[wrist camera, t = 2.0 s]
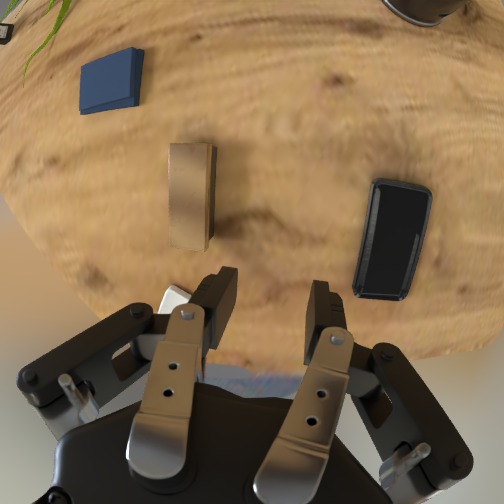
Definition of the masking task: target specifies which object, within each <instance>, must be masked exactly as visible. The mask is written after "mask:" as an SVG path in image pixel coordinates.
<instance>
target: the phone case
mask: <svg viewBox="0 0 504 504" xmlns="http://www.w3.org/2000/svg"><path fill="white" fill-rule="evenodd" d="M191 296H192V295H190V294H188V293H187V292H185V291H183V290H181V289H180V288H178V287H176V286H175V285H171V286H170V287H169V288H168V289H167V290H166V292H165V295H164V297H163V300H162V303H161V305H160V308H159V311H158V314H170V313H171V312H172V310H173V309H174V308H175V307H176V306H178V305H181V304H185V303H187V302H188V301H189V299H190V298H191Z"/></svg>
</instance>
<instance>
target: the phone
mask: <svg viewBox="0 0 504 504" xmlns="http://www.w3.org/2000/svg"><path fill="white" fill-rule="evenodd" d="M431 204H432V193H431V191H430V190H429V189H427V188H425V187H423V186H419V185H414V184H409V183H404V182H399V181H393V180H388V179H382V178H378V179H375V180H374V181H373V182H372V184H371V189H370V196H369V203H368V209H367V215H366V221H365V227H364V232H363V238H362V243H361V248H360V253H359V258H358V263H357V267H356V272H355V276H354V280H353V285H352V288H353V292H354V295H355V296H356V297H358V298H366V299H378V300H390V301H401V300H403V299H405V298H406V296H407V294H408V292H409V289H410V286H411V282H412V279H413V276H414V273H415V270H416V266H417V263H418V259H419V256H420V252H421V248H422V244H423V240H424V236H425V232H426V228H427V224H428V219H429V214H430V209H431Z"/></svg>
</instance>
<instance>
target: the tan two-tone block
mask: <svg viewBox="0 0 504 504" xmlns="http://www.w3.org/2000/svg"><path fill="white" fill-rule="evenodd" d="M216 157H217V147H212V144H205V143H171V144H169V230H170V247H174V248H181V249H187V250H194V251H201V252H205V251H206V250H207V249H208V247H209V240H210V239H211V238H212V237H213V236H214V203H215V178H216Z"/></svg>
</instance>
